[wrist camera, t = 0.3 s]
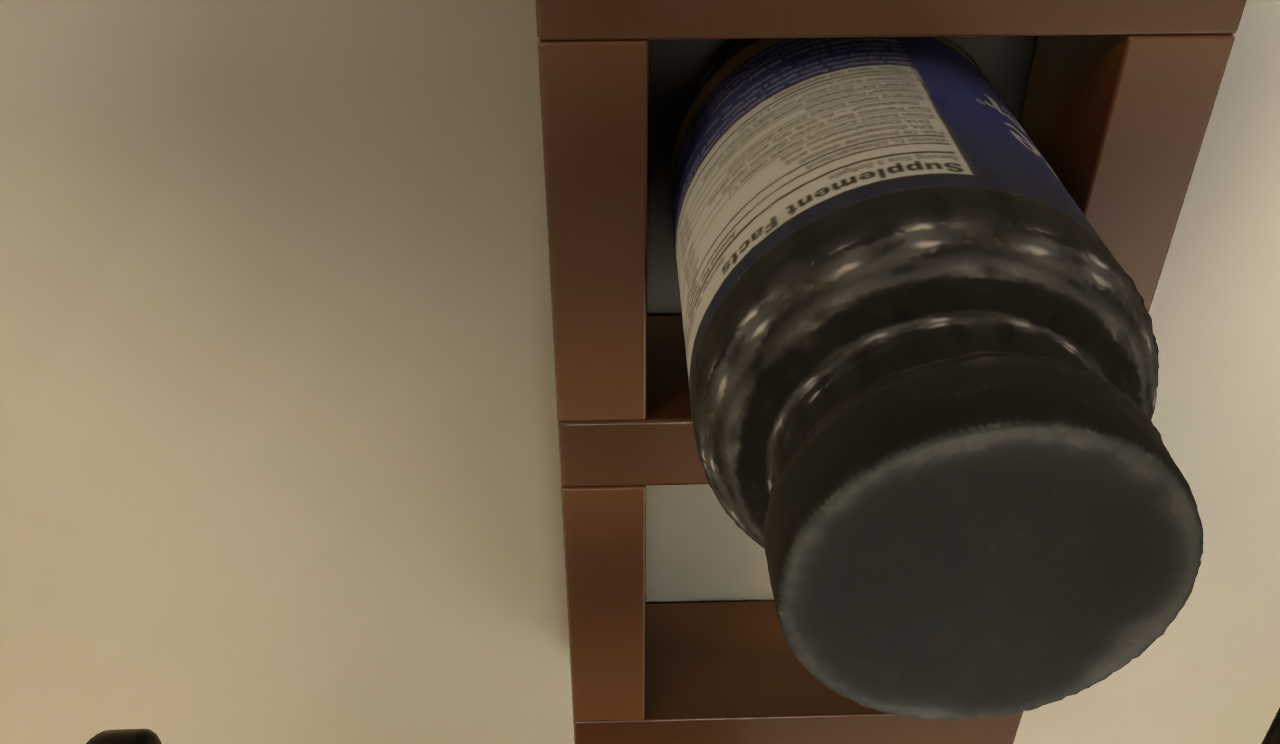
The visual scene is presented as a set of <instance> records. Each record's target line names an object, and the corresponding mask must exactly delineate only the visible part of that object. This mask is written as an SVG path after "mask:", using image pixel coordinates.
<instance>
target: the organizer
mask: <svg viewBox="0 0 1280 744" xmlns="http://www.w3.org/2000/svg"><path fill="white" fill-rule="evenodd" d="M535 2H536V21H537V36H538V38H539V39H538V59H539V78H540V97H541V116H542V135H543V154H544V173H545V191H546V210H547V229H548V248H549V267H550V286H551V305H552V324H553V343H554V362H555V381H556V400H557V418H558V435H559V454H560V473H561V495H562V514H563V533H564V552H565V570H566V589H567V608H568V627H569V646H570V665H571V684H572V703H573V719H574V721H573V722H574V741H575V744H1013V742H1014V739H1015V735H1016V732H1017V729H1018V726H1019V723H1020V719H1021V716H1022V713H1023V711H1018V712H1016V713H1013V714H1010V715H1006V716H996V717H983V718H977V719H967V720H953V721H949V720H940V719H920V718H913V717H908V716H902V715H894V714H890V713H885V712H881V711H878V710H874V709H871V708H868V707H864V706H861V705H859V704H858V703H857V702H855V701H854V700H851V699H849V698H846V697H843V696H842V695H840V694H838V693H836V692H835V691H833V690H832V689H830V688H828V687H826V686H824V685H823V684H822V683H821V682H820V681H819V680H818V679H816V678H815V677H814V676H813V675H812V674H811V673H809V671H808V670H807V669H806V668H805V667H804V666H803V665H802V664H801V663H800V661H799V660H798V659H797V658H796V656H795V655H794V653H793V651H792V650H791V649H790V648H789V646H788V644H787V641H786V639H785V637H784V635H783V632H782V630H781V627H780V624H779V621H778V617H777V614H776V608H775V601H755V602H710V603H665V604H645V564H646V485H688V484H709V483H708V481H707V478H706V475H705V470H704V467H703V466H702V464H701V462H700V459H699V456H698V450H697V446H696V441H695V436H694V429H693V423H692V417H691V410H690V406H691V400H690V390H689V382H688V371H687V359H686V348H685V338H684V329H683V319H682V316H647V212H648V39H751V38H854V37H957V36H1038V39H1037V44H1036V49H1035V53H1034V58H1033V63H1032V68H1031V72H1030V77H1029V82H1028V87H1027V91H1026V96H1025V101H1024V106H1023V110H1022V115H1021V120H1020V125H1021V127H1022V128H1023V129H1024V131H1025V132H1026V133H1027V135H1028V136H1029V138H1030V139H1031V141H1032V142H1033V144H1034V145H1035V147H1036V148H1037V149H1038V151H1039V152H1040V154H1041V155H1042V156H1043V158H1044V159H1045V161H1046V162H1047V163H1048V164H1049V166H1050V167H1051V168H1052V170H1053V171H1054V173H1055V174H1056V176H1057V177H1058V179H1059V180H1060V181H1061V183H1062V184H1063V186H1064V187H1065V189H1066V190H1067V192H1068V193H1069V194H1070V196H1071V197H1072V198H1073V200H1074V201H1075V203H1076V204H1077V205H1078V207H1079V208H1080V210H1081V211H1082V213H1083V214H1084V215H1085V217H1086V218H1087V220H1088V221H1089V223H1090V224H1091V225H1092V227H1093V228H1094V230H1095V231H1096V232H1097V234H1098V235H1099V236H1100V238H1101V239H1102V241H1103V242H1104V243H1105V245H1106V246H1107V247H1108V249H1109V250H1110V251H1111V253H1112V254H1113V256H1114V257H1115V259H1116V260H1117V262H1118V263H1119V264H1120V265H1121V267H1122V268H1123V269H1124V270H1125V272H1126V273H1127V274H1128V275H1129V276H1130V277H1131V278H1132V279H1133V281H1134V283H1135V285H1136V288H1137V290H1138V292H1139V293H1140V295H1141V296H1142V297H1143V299H1144V305H1145V308H1146V310H1147V311H1148V312H1149V309H1150V306H1151V303H1152V300H1153V296H1154V293H1155V290H1156V287H1157V284H1158V280H1159V277H1160V274H1161V271H1162V268H1163V265H1164V261H1165V258H1166V255H1167V252H1168V249H1169V246H1170V242H1171V239H1172V236H1173V233H1174V230H1175V226H1176V223H1177V220H1178V217H1179V214H1180V211H1181V207H1182V204H1183V201H1184V198H1185V195H1186V191H1187V188H1188V185H1189V182H1190V179H1191V176H1192V172H1193V169H1194V166H1195V163H1196V160H1197V157H1198V153H1199V150H1200V147H1201V144H1202V141H1203V137H1204V134H1205V131H1206V128H1207V125H1208V122H1209V118H1210V115H1211V112H1212V109H1213V106H1214V102H1215V99H1216V96H1217V93H1218V90H1219V87H1220V83H1221V80H1222V77H1223V74H1224V71H1225V67H1226V64H1227V61H1228V58H1229V55H1230V52H1231V48H1232V45H1233V42H1234V35H1233V33H1236V31H1237V29H1238V26H1239V22H1240V19H1241V16H1242V13H1243V10H1244V6H1245V3H1246V0H535Z"/></svg>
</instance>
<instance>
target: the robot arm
mask: <svg viewBox="0 0 1280 744" xmlns="http://www.w3.org/2000/svg"><path fill="white" fill-rule="evenodd" d="M86 744H161V741H160V739H159V738H158V736H157V734H155V733H154V732H153V731H151V730H149V729H124V730H107V731H103V732H101V733H99V734H97V735H95V736H94V737H93V738H91V739H90V740H89V741H88V742H87V743H86ZM1262 744H1280V708H1279V710H1278V712H1277V714H1276V716H1275V718H1274V720H1273V722H1272V724H1271V726H1270V728H1269V730H1268V732H1267V734H1266V736H1265V738H1264V740H1263V742H1262Z"/></svg>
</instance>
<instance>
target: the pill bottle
mask: <svg viewBox="0 0 1280 744" xmlns="http://www.w3.org/2000/svg"><path fill="white" fill-rule="evenodd" d="M669 180H670V194H671V205H672V217H673V229H674V241H675V252H676V261H677V270H678V281H679V291H680V300H681V309H682V319H683V329H684V338H685V348H686V359H687V371H688V382H689V390H690V400H691V406H690V410H691V417H692V423H693V429H694V436H695V441H696V446H697V450H698V456H699V459H700V462H701V464H702V466H703V467H704V470H705V475H706V478H707V481H708V483H709V485H710V487H711V488H712V490H713V491H714V493H715V495H716V497H717V499H718V501H719V503H720V504H721V506H722V507H723V508H724V510H725V512H726V513H727V514H728V515H729V516H730V517H731V518H732V519H733V520H734V521H735V523H736V525H737V526H738V527H739V528H741V529H742V530H743V531H744V532H745V533H746V534H747V535H748V536H750V537H751V538H752V539H753V540H754V541H755V542H757V543H758V544H759V545H760V546H761V547H763V548H765V553H766V557H767V562H768V571H769V576H770V582H771V587H772V591H773V595H774V601H775V608H776V614H777V617H778V621H779V624H780V627H781V630H782V632H783V635H784V637H785V639H786V641H787V644H788V646H789V648H790V649H791V650H792V651H793V653H794V655H795V656H796V658H797V659H798V660H799V661H800V663H801V664H802V665H803V666H804V667H805V668H806V669H807V670H808V671H809V673H811V674H812V675H813V676H814V677H815V678H816V679H818V680H819V681H820V682H821V683H822V684H823V685H824V686H826V687H828V688H830V689H832V690H833V691H835V692H836V693H838V694H840V695H842V696H843V697H846V698H849V699H851V700H854V701H855V702H857V703H858V704H859V705H861V706H864V707H868V708H871V709H874V710H878V711H881V712H885V713H890V714H894V715H902V716H908V717H913V718H920V719H940V720H949V721H953V720H967V719H977V718H983V717H996V716H1006V715H1010V714H1013V713H1016V712H1018V711H1026V710H1032V709H1036V708H1038V707H1040V706H1042V705H1045V704H1048V703H1052V702H1055V701H1059V700H1062V699H1063V698H1065V697H1066V696H1069V695H1074V694H1077V693H1078V692H1080V691H1082V690H1083V689H1086V688H1089V687H1090V686H1092V685H1093V684H1096V683H1098V682H1100V681H1102V680H1104V679H1106V678H1107V677H1108V676H1109V675H1111V674H1112V673H1113V672H1115V671H1117V670H1119V669H1121V668H1122V667H1124V666H1125V665H1126V664H1128V663H1129V662H1130V661H1131V660H1132V659H1134V658H1136V657H1138V656H1139V655H1141V654H1142V653H1143V652H1144V651H1145V650H1146V649H1147V648H1148V647H1149V646H1150V645H1151V644H1152V643H1153V642H1154V641H1155V640H1156V639H1157V638H1158V637H1160V636H1161V635H1163V634H1164V632H1165V630H1166V628H1167V627H1168V626H1169V624H1170V623H1171V622H1172V621H1173V620H1174V619H1175V618H1176V616H1177V614H1178V612H1179V611H1180V610H1181V609H1182V608H1183V606H1184V605H1185V602H1186V601H1187V599H1188V597H1189V596H1190V594H1191V592H1192V589H1193V585H1194V582H1195V578H1196V576H1197V574H1198V569H1199V567H1200V564H1201V560H1200V559H1201V556H1202V553H1203V528H1202V523H1201V520H1200V517H1199V514H1198V511H1197V505H1196V502H1195V499H1194V497H1193V495H1192V492H1191V490H1190V487H1189V484H1188V483H1187V481H1186V480H1185V478H1184V476H1183V475H1182V473H1181V471H1180V470H1179V468H1178V467H1177V466H1176V464H1175V463H1174V461H1173V459H1172V458H1171V456H1170V454H1169V453H1168V451H1167V449H1166V447H1165V446H1164V444H1163V442H1162V439H1161V435H1160V433H1159V432H1158V430H1157V429H1156V428H1155V427H1154V425H1153V423H1152V422H1151V418H1152V415H1153V412H1154V409H1155V403H1156V396H1157V387H1158V368H1159V364H1158V352H1159V350H1158V346H1157V344H1156V338H1155V336H1154V334H1153V331H1152V319H1151V317H1150V315H1149V313H1148V311H1147V310H1146V308H1145V305H1144V299H1143V297H1142V296H1141V295H1140V293H1139V292H1138V290H1137V288H1136V285H1135V283H1134V281H1133V279H1132V278H1131V277H1130V276H1129V275H1128V274H1127V273H1126V272H1125V270H1124V269H1123V268H1122V267H1121V265H1120V264H1119V263H1118V262H1117V260H1116V259H1115V257H1114V256H1113V254H1112V253H1111V251H1110V250H1109V249H1108V247H1107V246H1106V245H1105V243H1104V242H1103V241H1102V239H1101V238H1100V236H1099V235H1098V234H1097V232H1096V231H1095V230H1094V228H1093V227H1092V225H1091V224H1090V223H1089V221H1088V220H1087V218H1086V217H1085V215H1084V214H1083V213H1082V211H1081V210H1080V208H1079V207H1078V205H1077V204H1076V203H1075V201H1074V200H1073V198H1072V197H1071V196H1070V194H1069V193H1068V192H1067V190H1066V189H1065V187H1064V186H1063V184H1062V183H1061V181H1060V180H1059V179H1058V177H1057V176H1056V174H1055V173H1054V171H1053V170H1052V168H1051V167H1050V166H1049V164H1048V163H1047V162H1046V161H1045V159H1044V158H1043V156H1042V155H1041V154H1040V152H1039V151H1038V149H1037V148H1036V147H1035V145H1034V144H1033V142H1032V141H1031V139H1030V138H1029V136H1028V135H1027V133H1026V132H1025V131H1024V129H1023V128H1022V127H1021V125H1020V124H1019V122H1018V121H1017V120H1016V118H1015V117H1014V115H1013V114H1012V113H1011V111H1010V110H1009V108H1008V107H1007V106H1006V104H1005V103H1004V102H1003V100H1002V99H1001V97H1000V96H999V95H998V93H997V92H996V90H995V89H994V88H993V86H992V85H991V84H990V82H989V81H988V80H987V78H986V77H985V76H984V74H983V73H982V71H981V70H980V68H979V67H978V65H977V64H976V62H975V61H974V60H973V59H972V57H970V56H969V55H968V54H967V53H966V52H965V51H964V50H963V49H962V48H961V47H959V46H958V45H956V44H955V43H953V42H952V41H950V40H949V39H947V38H945V37H854V38H751V39H743V40H741V41H739V42H738V43H737V44H735V45H734V46H733V47H731V48H730V49H729V50H728V51H726V52H725V53H724V54H723V55H722V56H720V57H719V58H718V59H717V60H716V61H715V63H714V64H713V65H712V66H711V67H710V69H709V70H708V71H707V72H706V74H705V75H704V76H703V78H702V79H701V80H700V82H699V83H698V85H697V86H696V88H695V90H694V91H693V93H692V94H691V96H690V98H689V100H688V102H687V104H686V106H685V108H684V109H683V111H682V113H681V114H680V117H679V119H678V121H677V123H676V126H675V130H674V134H673V143H672V149H671V155H670V164H669Z"/></svg>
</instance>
